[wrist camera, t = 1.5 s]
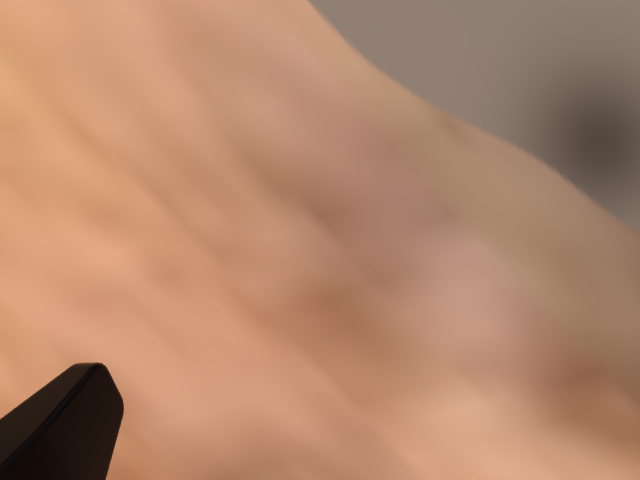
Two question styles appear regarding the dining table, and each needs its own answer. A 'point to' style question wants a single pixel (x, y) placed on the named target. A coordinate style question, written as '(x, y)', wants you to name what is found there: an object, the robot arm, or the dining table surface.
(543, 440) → the dining table surface
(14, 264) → the dining table surface
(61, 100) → the dining table surface
